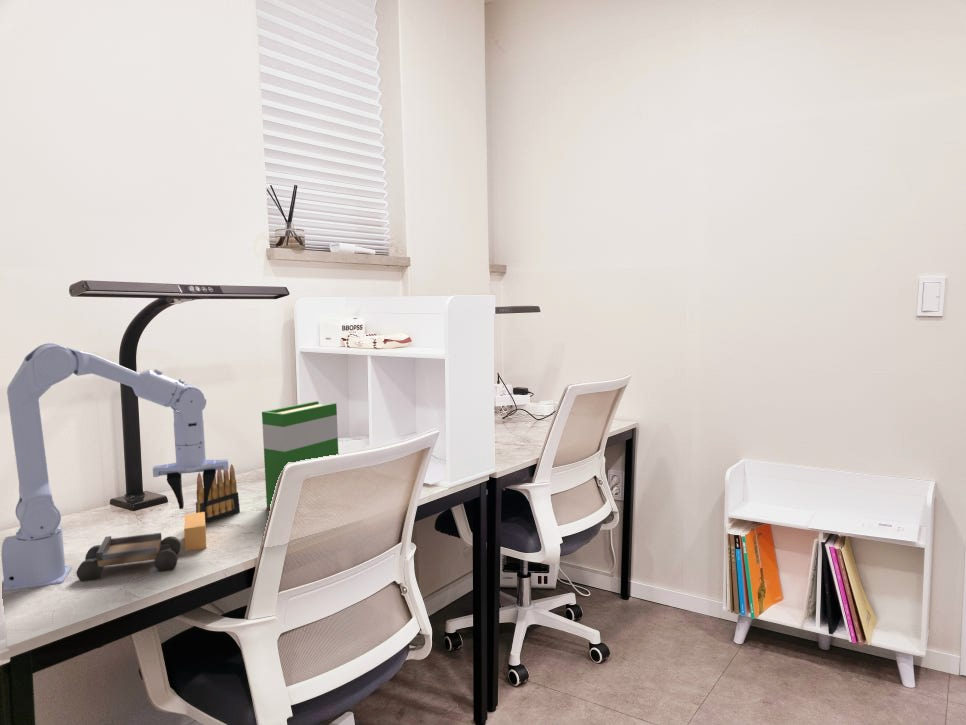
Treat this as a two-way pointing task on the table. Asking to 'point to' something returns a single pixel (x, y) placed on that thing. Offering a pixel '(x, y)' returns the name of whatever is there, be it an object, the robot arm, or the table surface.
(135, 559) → the dolly
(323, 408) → the hardback book
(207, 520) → the ammunition clip
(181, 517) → the table surface
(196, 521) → the block
